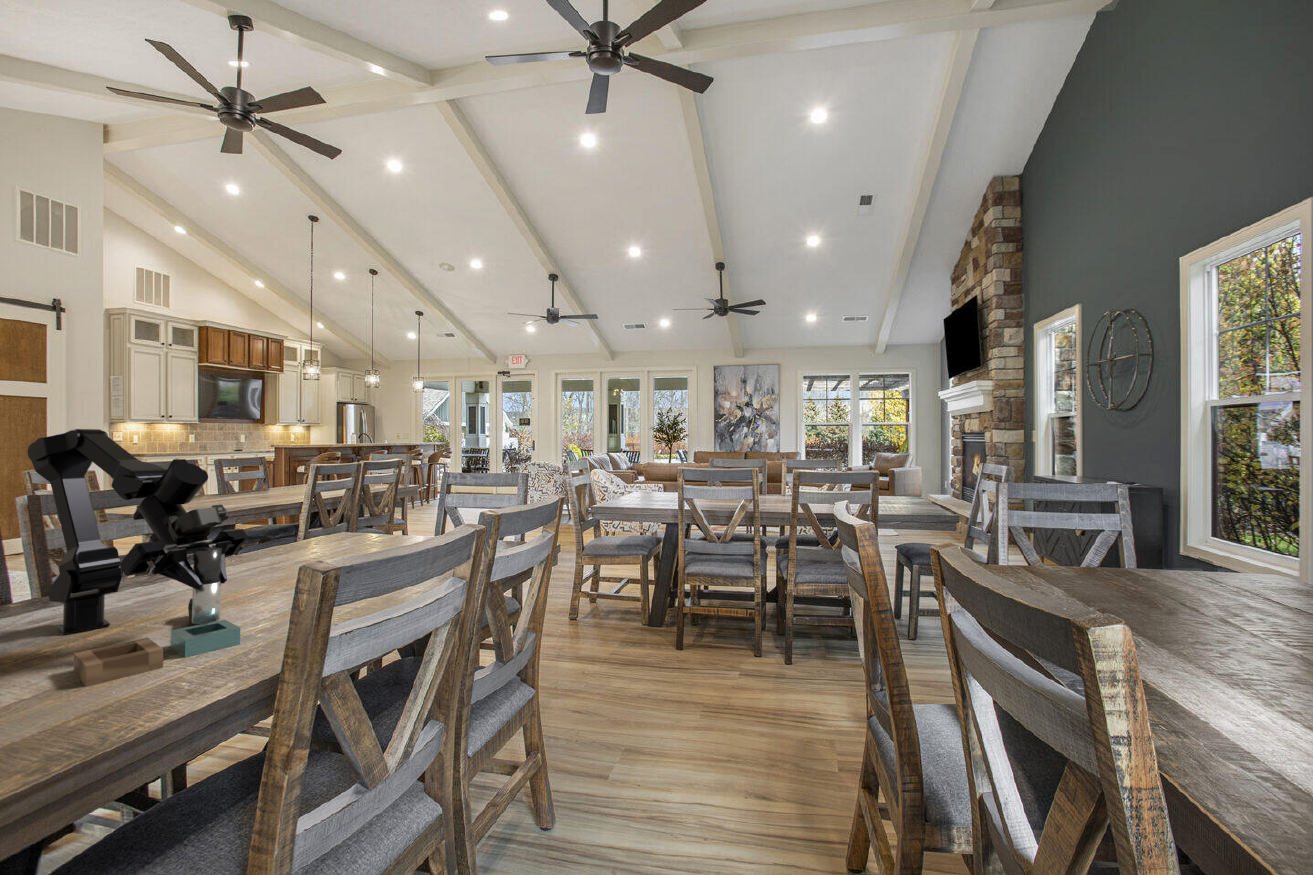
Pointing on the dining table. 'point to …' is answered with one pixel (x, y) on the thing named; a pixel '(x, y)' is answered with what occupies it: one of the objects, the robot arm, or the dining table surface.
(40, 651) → the dining table surface
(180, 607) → the dining table surface
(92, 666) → the frame
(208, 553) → the grey and white cylinder
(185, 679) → the dining table surface
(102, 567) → the robot arm
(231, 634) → the socket block
